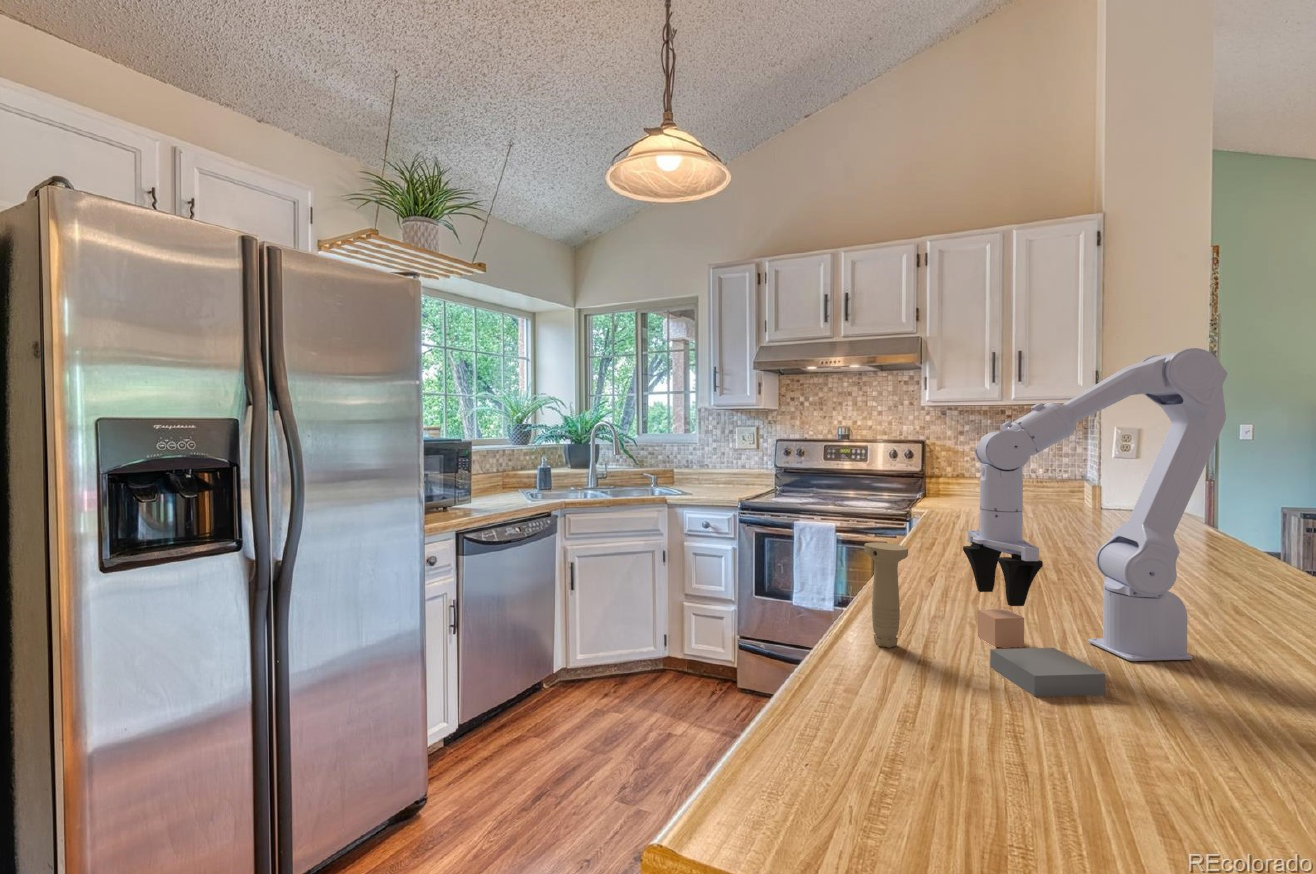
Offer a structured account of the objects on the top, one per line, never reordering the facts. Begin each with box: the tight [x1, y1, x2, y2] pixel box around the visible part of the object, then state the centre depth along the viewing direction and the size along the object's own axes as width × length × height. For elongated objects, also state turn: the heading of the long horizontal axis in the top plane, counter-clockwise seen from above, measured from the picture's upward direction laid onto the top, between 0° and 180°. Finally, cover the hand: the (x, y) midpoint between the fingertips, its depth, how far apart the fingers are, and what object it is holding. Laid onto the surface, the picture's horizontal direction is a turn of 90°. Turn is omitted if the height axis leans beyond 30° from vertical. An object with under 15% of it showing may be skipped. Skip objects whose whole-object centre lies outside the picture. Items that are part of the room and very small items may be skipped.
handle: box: [863, 541, 909, 649], centre depth 92 cm, size 5×6×15 cm
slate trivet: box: [989, 647, 1106, 698], centre depth 79 cm, size 9×9×3 cm
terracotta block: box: [977, 608, 1025, 649], centre depth 93 cm, size 4×4×4 cm
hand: (1000, 598), depth 93 cm, fingers open, 7 cm apart
